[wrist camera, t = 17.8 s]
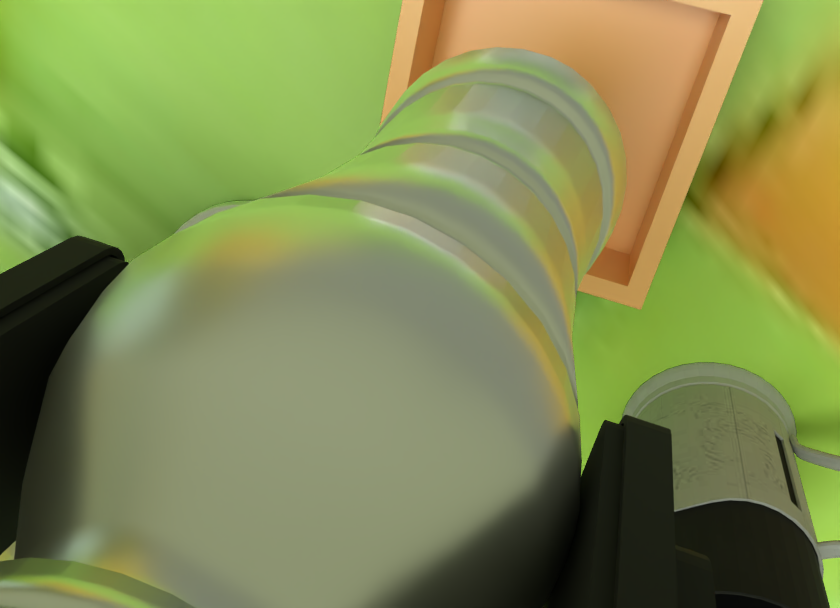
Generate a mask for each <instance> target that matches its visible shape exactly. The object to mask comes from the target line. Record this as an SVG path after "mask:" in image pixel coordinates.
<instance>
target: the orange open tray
mask: <svg viewBox="0 0 840 608" xmlns="http://www.w3.org/2000/svg"><path fill="white" fill-rule="evenodd" d="M762 3H763V0H403V1H402V6H401V12H400V17H399V23H398V28H397V34H396V40H395V45H394V51H393V56H392V62H391V67H390V73H389V78H388V84H387V89H386V95H385V100H384V106H383V111H382V117H381V122H380V125H381V124H382V122H383V121H384V120H385V118H386V117H387V115H388V114H389V112H390V111H391V110H392V108H393V107H394V105H395V104H396V103H397V101H398V100H399V99H400V97H401V96H402V95H403V93H404V92H405V91H406V90H407V89H408V88H409V87H410V86H411V85H412V84H413V83H414V82H415V81H416V80H417V79H418V78H419V77H421V76H422V75H423V74H424V73H425V72H427V71H429V70H430V69H432V68H433V67H435V66H437V65H438V64H440V63H441V62H443V61H445V60H447V59H450V58H452V57H455V56H458V55H460V54H463V53H466V52H469V51H473V50H480V49H487V48H494V47H502V48H517V49H525V50H528V51H532V52H535V53H539V54H542V55H546V56H549V57H552V58H554V59H556V60H558V61H560V62H562V63H563V64H565V65H567V66H569V67H571V68H573V69H574V70H575V71H576V72H577V73H578V74H580V75H581V76H582V77H583V78H584V79H585V80H587V81H588V82H589V83H590V84H591V85H592V86H593V87H594V89H595V90H596V91H597V93H598V94H599V95H600V97H601V98H602V99H603V101H604V102H605V103H606V105H607V106H608V107H609V109H610V111H611V113H612V115H613V117H614V120H615V122H616V124H617V126H618V128H619V130H620V133H621V137H622V142H623V146H624V150H625V155H626V175H627V185H626V190H625V195H624V200H623V206H622V210H621V213H620V215H619V217H618V220H617V222H616V225H615V227H614V230H613V232H612V234H611V236H610V238H609V239H608V241H607V243H606V245H605V247H604V248H603V250H602V251H601V253H600V254H599V256H598V257H597V259H596V260H595V262H594V263H593V265H592V266H591V268H590V269H589V271H588V272H587V273H586V274H585V275H584V277H583V279H582V281H581V283H580V286H579V288H578V291H581V292H584V293H588V294H591V295H594V296H597V297H601V298H604V299H607V300H610V301H614V302H617V303H620V304H623V305H627V306H630V307H633V308H637V309H640V310H641V308H642V306H643V303H644V300H645V298H646V295H647V293H648V290H649V288H650V285H651V283H652V280H653V278H654V275H655V273H656V270H657V268H658V265H659V263H660V260H661V258H662V255H663V253H664V250H665V248H666V245H667V242H668V240H669V237H670V235H671V232H672V230H673V227H674V225H675V222H676V220H677V217H678V215H679V212H680V210H681V207H682V205H683V202H684V200H685V197H686V195H687V192H688V190H689V187H690V184H691V182H692V179H693V177H694V174H695V172H696V169H697V167H698V164H699V162H700V159H701V157H702V154H703V152H704V149H705V147H706V144H707V142H708V139H709V137H710V134H711V131H712V129H713V126H714V124H715V121H716V119H717V116H718V114H719V111H720V109H721V106H722V104H723V101H724V99H725V96H726V94H727V91H728V89H729V86H730V84H731V81H732V79H733V76H734V73H735V71H736V68H737V66H738V63H739V61H740V58H741V56H742V53H743V51H744V48H745V46H746V43H747V41H748V38H749V36H750V33H751V31H752V28H753V26H754V23H755V21H756V18H757V15H758V13H759V10H760V8H761V5H762Z"/></svg>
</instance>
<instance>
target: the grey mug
mask: <svg viewBox="0 0 840 608" xmlns="http://www.w3.org/2000/svg"><path fill="white" fill-rule="evenodd" d="M624 415H629V416H632V417H635V418H638V419H641V420H644V421H647V422H650V423H654V424H657V425H660V426H663V427H666V428H669V429H670V430H671V434H672V461H673V490H674V519H675V545H677V546H680V547H683V548H686V549H689V550H692V551H694V552H697V553H700V554H703V555H706V556H707V557H708V558H709V560H710V561H711V565H712V570H713V578H714V589H715V600H716V608H830V606H829V602H828V599H827V595H826V591H825V587H824V583H823V570H824V569H823V563H822V559H828V558H838V557H840V540H838V541H824V542H817V538H816V535H815V531H814V527H813V523H812V520H811V516H810V512H809V509H808V505H807V501H806V498H805V494H804V490H803V486H802V483H801V479H800V475H799V472H798V468H797V464H796V461H795V457H794V453H795V454H796V455H797V457H799V458H800V459H802V460H804V461H807V462H810V463H813V464H816V465H819V466H822V467H826V468H830V469H833V470H837V471H840V456H837V455H833V454H829V453H825V452H821V451H818V450H814V449H811V448H808V447H805V446H802V445H801V444H799V443H798V440H797V438H796V426H795V420H794V417H793V414H792V412H791V409H790V407H789V405H788V404H787V402H786V401H785V399H784V398H783V396H782V395H781V394H780V393H779V392H778V391H777V390H776V389H775V388H774V387H773V386H772V385H771V384H770V383H768V382H767V381H765V380H764V379H762V378H761V377H759V376H758V375H755V374H753V373H751V372H749V371H747V370H745V369H742V368H738V367H735V366H732V365H727V364H720V363H691V364H685V365H680V366H677V367H673V368H670V369H667V370H665V371H663V372H661V373H659V374H657V375H655V376H653V377H652V378H650V379H649V380H648V381H646V382H645V383H643V384H642V385H641V386H640V387H639V388H638V389H637V390H636V391H635V392H634V394H633V395H632V397H631V398H630V400H629V401H628V403H627V405H626V408H625V410H624V413H623V416H624ZM623 416H622V418H623ZM793 452H794V453H793Z"/></svg>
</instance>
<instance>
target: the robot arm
mask: <svg viewBox="0 0 840 608" xmlns="http://www.w3.org/2000/svg"><path fill="white" fill-rule="evenodd" d="M248 202H251V200H247V201H229V202H225V203H222V204H218V205H214V206H212V207H210V208H208V209H206V210H204V211H202V212H200V213H198V214H197V215H195V216H194V217H192V218H191V219H189V220H188V221H187V222H185V223H184V224H183V225H182V226H181V227H180V228H179V229H178V230H177V231H176V232H175V233H177V232H180V231H182V230H184V229H186V228H188V227H190V226H192V225H194V224H196V223H198V222H200V221H202V220H204V219H206V218H208V217H210V216H212V215H214V214H215V213H218V212H221V211H224V210H228V209H231V208H234V207H237V206H240V205H243V204H246V203H248ZM175 233H174V234H175ZM128 264H129V263H128V262H125V259H124V256H123V253H122V251H121V250H119V249H118V248H116V247H113V246H110V245H107V244H104V243H101V242H98V241H95V240H92V239H89V238H86V237H82V236H75V237H72V238H69V239H67V240H66V241H64V242H62V243H60V244H58V245H56V246H54V247H52V248H50V249H48V250H46V251H44V252H42V253H40V254H38V255H36V256H34V257H33V258H31V259H29V260H27V261H25V262H23V263H21V264H19V265H17V266H15V267H13V268H11V269H9V270H7V271H5V272H3V273H1V274H0V561H5V560H13V559H14V555H15V546H16V537H17V528H18V518H19V509H20V500H21V491H22V483H23V479H24V475H25V471H26V466H27V462H28V458H29V454H30V450H31V446H32V442H33V438H34V434H35V430H36V426H37V422H38V418H39V414H40V410H41V406H42V402H43V398H44V394H45V390H46V387H47V383H48V379H49V376H50V374H51V372H52V370H53V368H54V366H55V365H56V363H57V361H58V359H59V357H60V355H61V353H62V352H63V350H64V348H65V346H66V344H67V342H68V341H69V339H70V338H71V336H72V335H73V334H74V332H75V331H76V329H77V328H78V326H79V325H80V324H81V322H82V321H83V319H84V318H85V316H86V315H87V314H88V312H89V311H90V309H91V308H92V306H93V305H94V303H95V302H96V301H97V299H98V298H99V296H100V295H101V293H102V292H103V291H104V290H105V288H106V287H107V286H108V285H109V284H110V283H111V282H112V281H113V280H114V279H115V278H116V277H117V276H118V275H119V274H120V273H121V272H122V271H123V269H124V268H125V267H126V266H127V265H128ZM543 608H716V600H715V589H714V578H713V570H712V565H711V561H710V560H709V558H708V557H707V556H706V555H703V554H700V553H697V552H694V551H692V550H689V549H686V548H683V547H680V546H677V545H675V519H674V490H673V461H672V434H671V430H670V429H669V428H666V427H663V426H660V425H657V424H654V423H650V422H647V421H644V420H641V419H638V418H635V417H632V416H629V415H624V416H623V418H622V420H621V421H620V424H616V423H613V422H610V421H607V420H605V421H604V422H603V424H602V426H601V428H600V431H599V433H598V436H597V438H596V441H595V443H594V446H593V448H592V451H591V453H590V456H589V458H588V460H587V463H586V465H585V468H584V470H583V473H582V475H581V480H580V511H579V516H578V521H577V526H576V531H575V535H574V538H573V541H572V544H571V547H570V550H569V553H568V556H567V560H566V563H565V565H564V567H563V569H562V571H561V573H560V575H559V578H558V580H557V582H556V584H555V586H554V588H553V590H552V592H551V594H550V596H549V598H548V600H547V601H546V603H545V605H544V606H543Z"/></svg>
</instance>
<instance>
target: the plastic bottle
mask: <svg viewBox="0 0 840 608" xmlns="http://www.w3.org/2000/svg"><path fill="white" fill-rule="evenodd" d="M626 185H627V175H626V155H625V150H624V146H623V142H622V137H621V133H620V130H619V128H618V126H617V124H616V122H615V120H614V117H613V115H612V113H611V111H610V109H609V107H608V106H607V105H606V103H605V102H604V101H603V99H602V98H601V97H600V95H599V94H598V93H597V91H596V90H595V89H594V87H593V86H592V85H591V84H590V83H589V82H588V81H587V80H585V79H584V78H583V77H582V76H581V75H580V74H578V73H577V72H576V71H575V70H574V69H573V68H571V67H569V66H567V65H565V64H563V63H562V62H560V61H558V60H556V59H554V58H552V57H549V56H546V55H542V54H539V53H535V52H532V51H528V50H525V49H517V48H502V47H494V48H487V49H480V50H473V51H469V52H466V53H463V54H460V55H458V56H455V57H452V58H450V59H447V60H445V61H443V62H441V63H440V64H438V65H437V66H435V67H433V68H432V69H430V70H429V71H427V72H425V73H424V74H423V75H422V76H421V77H419V78H418V79H417V80H416V81H415V82H414V83H413V84H412V85H411V86H410V87H409V88H408V89H407V90H406V91H405V92H404V93H403V95H402V96H401V97H400V99H399V100H398V101H397V103H396V104H395V105H394V107H393V108H392V110H391V111H390V112H389V114H388V115H387V117H386V118H385V120H384V121H383V122H382V124H381V125H380V127H379V129H378V131H377V134H376V136H375V138H374V139H373V140H372V141H371V143H370V144H369V145H368V146H367V147H366V148H365V149H364V150H363V151H362V152H361V154H360V155H358V156H357V157H355V158H353V159H352V160H350V161H348V162H347V163H345V164H343V165H341V166H340V167H338V168H336V169H335V170H333V171H331V172H330V173H328V174H326V175H325V176H323V177H320V178H317V179H314V180H311V181H308V182H306V183H303V184H300V185H297V186H294V187H291V188H288V189H286V190H283V191H280V192H277V193H274V194H271V195H268V196H266V197H263V198H260V199H257V200H254V201H251V202H248V203H246V204H243V205H240V206H237V207H234V208H231V209H228V210H224V211H221V212H218V213H215V214H214V215H212V216H210V217H208V218H206V219H204V220H202V221H200V222H198V223H196V224H194V225H192V226H190V227H188V228H186V229H184V230H182V231H180V232H177V233H175V234H173V235H171V236H170V237H168V238H167V239H165V240H163V241H162V242H160V243H159V244H157V245H155V246H154V247H152V248H150V249H149V250H147V251H146V252H144V253H142V254H141V255H139V256H138V257H136V258H134V259H133V260H132V261H131V262H130V263H129V264H128V265H127V266H126V267H125V268H124V269H123V271H122V272H121V273H120V274H119V275H118V276H117V277H116V278H115V279H114V280H113V281H112V282H111V283H110V284H109V285H108V286H107V287H106V288H105V290H104V291H103V292H102V293H101V295H100V296H99V298H98V299H97V301H96V302H95V303H94V305H93V306H92V308H91V309H90V311H89V312H88V314H87V315H86V316H85V318H84V319H83V321H82V322H81V324H80V325H79V326H78V328H77V329H76V331H75V332H74V334H73V335H72V336H71V338H70V339H69V341H68V342H67V344H66V346H65V348H64V350H63V352H62V353H61V355H60V357H59V359H58V361H57V363H56V365H55V366H54V368H53V370H52V372H51V374H50V376H49V379H48V383H47V387H46V390H45V394H44V398H43V402H42V406H41V410H40V414H39V418H38V422H37V426H36V430H35V434H34V438H33V442H32V446H31V450H30V454H29V458H28V462H27V466H26V471H25V475H24V479H23V483H22V491H21V500H20V509H19V518H18V528H17V537H16V546H15V555H14V559H13V560H5V561H0V608H543V606H544V605H545V603H546V601H547V600H548V598H549V596H550V594H551V592H552V590H553V588H554V586H555V584H556V582H557V580H558V578H559V575H560V573H561V571H562V569H563V567H564V565H565V563H566V560H567V556H568V553H569V550H570V547H571V544H572V541H573V538H574V535H575V531H576V526H577V521H578V516H579V511H580V480H581V463H582V459H581V437H580V416H579V412H578V401H577V389H576V378H575V367H574V356H573V344H572V333H573V324H574V315H575V306H576V294H577V290H578V288H579V286H580V283H581V281H582V279H583V277H584V275H585V274H586V273H587V272H588V271H589V269H590V268H591V266H592V265H593V263H594V262H595V260H596V259H597V257H598V256H599V254H600V253H601V251H602V250H603V248H604V247H605V245H606V243H607V241H608V239H609V238H610V236H611V234H612V232H613V230H614V227H615V225H616V222H617V220H618V217H619V215H620V213H621V210H622V206H623V200H624V195H625V190H626Z"/></svg>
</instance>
